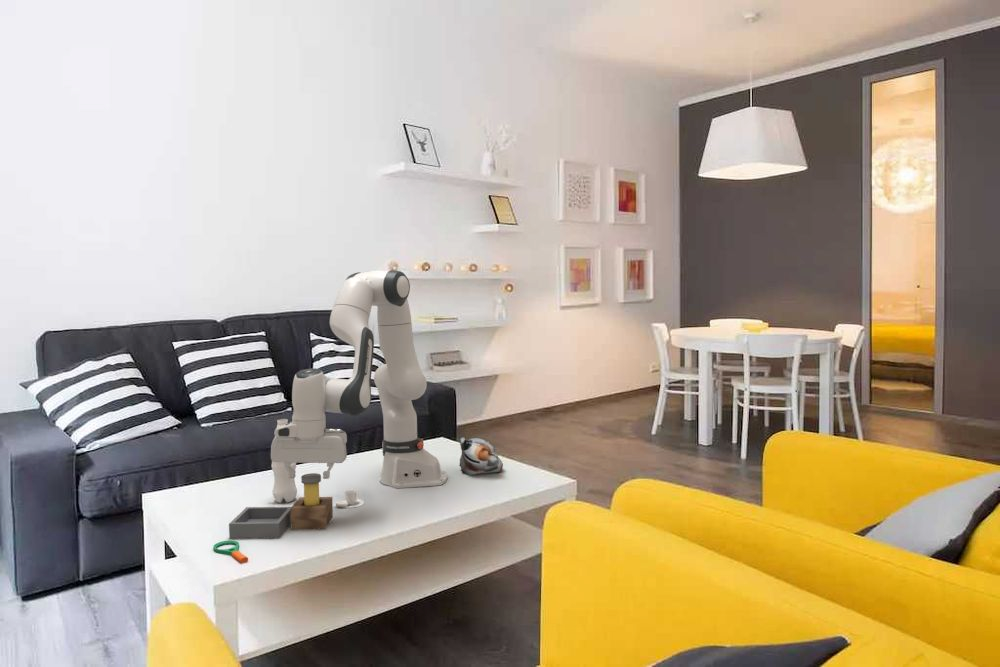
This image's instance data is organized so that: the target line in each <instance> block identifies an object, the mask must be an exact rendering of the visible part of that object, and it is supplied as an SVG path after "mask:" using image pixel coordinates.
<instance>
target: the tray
mask: <svg viewBox="0 0 1000 667" xmlns="http://www.w3.org/2000/svg"><path fill="white" fill-rule="evenodd" d="M291 507H292V506H246V507H245V508H244V509H243V510H242V511H241V512H239V514H238V515H236V516H235V517H234V518H233V520H231V521H230V522H229V523H228V533H229V534H228V536H229V537H228V538H229V540H236V539H237V540H239V539H240V540H242V539H244V540H245V539H250V540H252V539H280V538H281V536H282V535H283V534H284V533H285V532H286V531H287V529H288V528H289V527H290V526H291V511H290V508H291Z"/></svg>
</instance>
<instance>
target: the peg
mask: <svg viewBox="0 0 1000 667" xmlns="http://www.w3.org/2000/svg"><path fill="white" fill-rule="evenodd" d="M300 478H301V481H300V482H301V483H302V484H303V497H304V506H319V497H320V483H321V482H322V475H321V474H320V473H318V472H317V473H316V472H315V473H305V474H303V475H301V476H300Z"/></svg>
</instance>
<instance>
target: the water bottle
mask: <svg viewBox="0 0 1000 667" xmlns="http://www.w3.org/2000/svg"><path fill="white" fill-rule="evenodd" d="M288 421H289V420H288V419H287V418H281V419H277V421H276V422H277V425H276V428H278V427H279V426H281V425H284V424H287V423H289V422H288ZM275 437H276V436H275V435H274V438H275ZM271 446H272V444H271V445H270V447H271ZM290 467H291V468H292V470H293V471H296V468H297V463H291V465H290ZM271 470H272V472H273V477H274V482H273V483H274V484H273V488H272V497H273V498H274V500H275V502H276V503H277V504H281V503H283V501H285V503H291V502H292V501H293V500H294V501H295V499H296V497H297V494H298V488H297V485H296V481H295V478H288V471H287V470H286V468H285V467H284V462H273V461H272V460H271Z"/></svg>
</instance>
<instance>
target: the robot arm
mask: <svg viewBox="0 0 1000 667" xmlns="http://www.w3.org/2000/svg"><path fill="white" fill-rule="evenodd" d="M410 290H411V284H410V280H409V279H408V277H407V275H406V274H405V272H403V271H401V270H396V269H391V270H386V269H376V270H375V269H374V270H371V271H370V270H369V271H365V272H354V273H352V274H350V275H348V276H347V278H346V279H345V280H344V282H343V283H342V284H341V287H340V288H339V291H338V293H337V295H336V297H335V300H334V303H333V305H332V306H333V307H332V309H331V313H330V316H329V327H330V329H331V332H332V333H333V334H334V335H335V336H336V337H337V338H338V339H339V340H341V341H343V342H345V343H347V344H348V345H351V346H352V347H353V348H354V358H353V368H352V375H351V377H350V378H348V379H345V378H334V377H330V376H327V375H326V374H324V372H323V370H322V369H319V368H313V367H312V368H305V369H302V370H301V369H300V370H299V371H297V372H296V373H295V375H294V377H293V382H292V389H291V400H292V401H291V404H292V407H293V412H292V416H291V419H292V420H291V421H290V422H288V423H287V424H284V425H281V426H279V427H278V428H277V427H276V428H275V429H274V432H273V433H274V438H273V440H272V441H271V445H272V446H271V445H270V460H271V462H272V461H273V462H284V467H285V468H286V470H287V471H288V478H294V479H295V478H296V476H297V475H296V473H297V472H296V470H295V471H293V470H292V468H291V467H290V465H291V463H296V464H297V463H304V464H305V463H306V464H307V463H309V464H314V463H315V464H326V467H327V468H328V469H326V470H324V471H323V472H322V479H324V480H329V479H330V476H331V470H332V468H333V467H334V465H335V464H343V462H345V461H346V459H347V456H348V455H347V453H348V452H347V445H346V444H347V443H348V435H347V433H346V431H344V430H342V428H326V424H327V423H326V414H325V413H326V412H328V413H334V414H343V415H348V416H353V417H358V416H360V415H361V414H363V413H364V412H365V411H366V410H368V408H369V407H370V404H371V402H372V388H371V382H372V374H373V373H372V372H373V360H374V349H375V339H374V337H375V336H374V332H373V331H372V329H370V327H369V320H370V317H371V312H372V311H371V310H372V306H373V307H375V306H376V307H377V309H376V310H377V312H376V313H377V314H376V315H377V318H376V319H377V332H378V344H379V349H380V351H381V353H382V355H383V358H384V362H385V363H384V364H381V365H380V366H379V367H378V368H377V369H375V371H374V375H373V381H374V382H373V383H374V384H375V387H376V388H377V392H378V398H379V402H380V407H381V411H382V418H383V439H382V444H381V445H382V448H381V450H382V457H383V461H382V470H381V474H380V478H379V482H380V483H381V484H383V485H386V486H390V487H393V488H395V489H404V488H405V489H406V488H415V487H416V488H419V487H421V488H423V487H433V486H441V485H442V486H443V484H445V483H446V482H447V480H448V474H447V472H445V471H443V470H441V465H440V461H439V459H438V457H437V456H434V455H433V454H432V453H430V452H429V451H428V450H426V449H425V448H424V445H425V444H424V438H420V437H418V416H417V412H416V410H415V407H414V405H413V402H412V401H413V400H418V399H419V398H421V397H422V396H423V395H424V394H425V392H426V390H427V386H428V385H427V383H428V382H427V378H426V377H425V375H424V374H423V372H422V369H421V367H420V363H419V360H418V356H417V353H416V349H415V345H414V336H413V334H414V333H413V324H412V316H411V309H410V308H411V307H410V304H409V302H408V297H409V294H410ZM275 436H276V437H275Z"/></svg>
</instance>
